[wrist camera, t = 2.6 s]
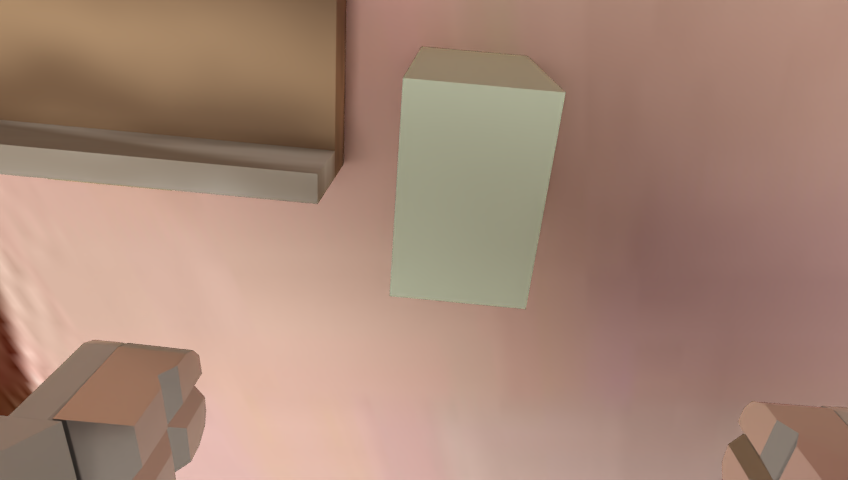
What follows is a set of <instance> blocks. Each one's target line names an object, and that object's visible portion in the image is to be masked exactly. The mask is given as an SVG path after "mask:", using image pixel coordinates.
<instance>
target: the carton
mask: <svg viewBox="0 0 848 480" xmlns="http://www.w3.org/2000/svg"><path fill="white" fill-rule="evenodd" d="M565 93H566V92H565V91H563V90H562V89H561V88H560V87H559V86H558V85H557V84H556V83H555V82H554V81H553V80H552V79H551V78H550V77H549V76H548V75H547V74H546V73H545V72H544V71H543V70H542V69H540V68H539V67H538V66H537V65H536V64H535V63H534V62H533V61H532V60H531V59H530V58H529V57H528V56H523V55H512V54H500V53H489V52H478V51H467V50H455V49H444V48H433V47H421V48H420V50H419V52H418V53H417V55H416V57H415V58H414V60H413V62H412V63H411V65H410V67H409V68H408V70H407V72H406V74H405V75H404V77H403V84H402V100H401V117H400V133H399V150H398V166H397V183H396V199H395V215H394V232H393V248H392V265H391V281H390V296H394V297H404V298H414V299H425V300H435V301H446V302H456V303H466V304H477V305H487V306H498V307H508V308H518V309H526V305H527V300H528V294H529V289H530V283H531V278H532V273H533V267H534V262H535V256H536V251H537V245H538V240H539V235H540V229H541V224H542V218H543V213H544V207H545V202H546V197H547V191H548V186H549V180H550V175H551V169H552V164H553V159H554V153H555V148H556V142H557V137H558V131H559V126H560V121H561V115H562V110H563V104H564V99H565Z"/></svg>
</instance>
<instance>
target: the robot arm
mask: <svg viewBox="0 0 848 480" xmlns="http://www.w3.org/2000/svg"><path fill="white" fill-rule="evenodd" d="M201 374H202V370H201V364H200V358H199V355H198V354H197V353H196V352H195V351H193V350H186V349H177V348H168V347H160V346H151V345H142V344H133V343H127V344H125V343H120V342H111V341H101V340H92V341H89V342H86V343H83V344H82V345H81V346H80V347H79V348H78V349H77V350H76V351H75V352H74V353H73V354H72V355H71V356H70V357H69V358H68V359H67V360H66V361H65V362H64V363H63V364H62V365H61V366H60V367H59V368H57V369H56V370H55V371H54V372H53V373H52V374H51V375H50V376H49V377H48V378H47V379H46V380H45V381H44V382H43V383H42V384H41V385H40V386H39V387H38V388H37V389H36V390H35V391H34V392H33V393H32V394H31V395H30V396H29V397H28V398H27V399H26V400H25V401H24V402H23V403H22V404H21V405H19V406H18V407H17V408H16V409H15V410H14V411H13V412H12V413H11V414H10V415H9V416H0V480H176V477H175V472H176V471H177V470H179V469H181V468H182V467H184V466H185V465H187V464H188V463H190V462H191V461H192V459H193V457H194V455H195V453H196V451H197V449H198V447H199V445H200V441H201V438H202V434H203V431H204V427H205V418H206V404H205V397H204V396H203V395H202V393H201V392H200V391H199V390H198V389H197V388H196V387H195V386H194V385H195V384H196V382H197V380H198V379H199V377H200V376H201ZM738 423H739V426H740V428H741V430H742V432H743V434H742V435H741V436H740V437H738V438H737V439H735V440H734V441H732V442H731V443H729V444H728V446H727V449H726V452H725V454H724V457H723V460H722V480H848V408H843V407H828V406H822V407H815V406H803V405H792V404H780V403H768V402H756V401H752V402H750V403H749V404H748V405H747V406H746V407H745V408H744V409H743V411H742V413H741V416H740V418H739V420H738Z"/></svg>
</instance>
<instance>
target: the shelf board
mask: <svg viewBox="0 0 848 480" xmlns="http://www.w3.org/2000/svg"><path fill="white" fill-rule="evenodd" d="M345 40H346V0H0V174H5V175H15V176H26V177H37V178H47V179H54V180H65V181H75V182H86V183H96V184H107V185H118V186H128V187H139V188H149V189H160V190H171V191H172V190H175V191H185V192H196V193H207V194H217V195H228V196H238V197H249V198H260V199H270V200H281V201H292V202H302V203H313V204H318V203H319V201H320V199H321V198H322V196H323V195H324V193H325V192H326V190H327V189H328V187H329V186H330V184H331V182H332V181H333V179H334V178H335V176H336V175H337V173H338V172H339V170H340V169H341V167H342V166H343V153H344V96H345Z"/></svg>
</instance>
